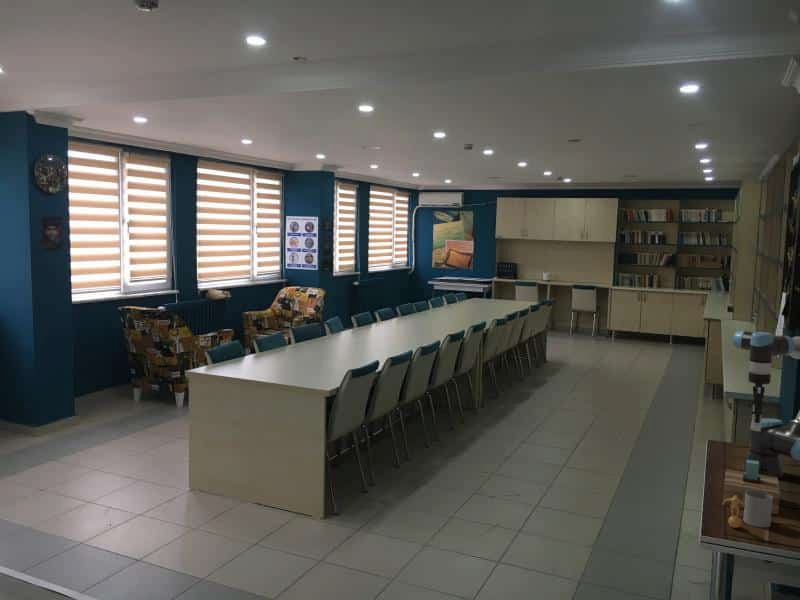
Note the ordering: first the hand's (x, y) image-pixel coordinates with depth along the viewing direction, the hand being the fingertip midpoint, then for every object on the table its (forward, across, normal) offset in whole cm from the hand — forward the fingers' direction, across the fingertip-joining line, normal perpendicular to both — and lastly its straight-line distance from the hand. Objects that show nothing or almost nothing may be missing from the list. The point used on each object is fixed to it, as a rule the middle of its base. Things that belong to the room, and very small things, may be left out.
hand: (756, 426), depth 261 cm
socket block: (+26, +11, -1) cm, 28 cm away
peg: (+19, +11, -1) cm, 22 cm away
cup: (+26, +32, +1) cm, 41 cm away
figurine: (+26, +42, -6) cm, 49 cm away
